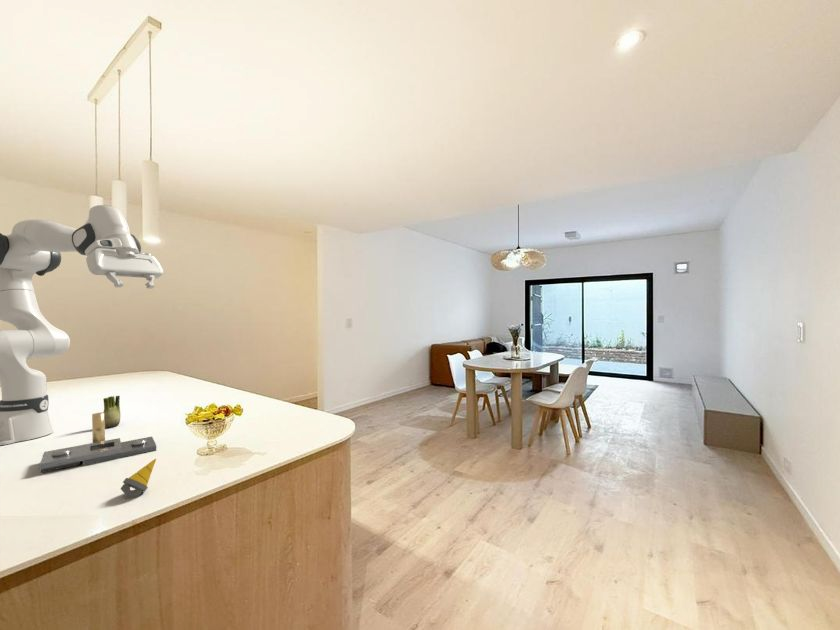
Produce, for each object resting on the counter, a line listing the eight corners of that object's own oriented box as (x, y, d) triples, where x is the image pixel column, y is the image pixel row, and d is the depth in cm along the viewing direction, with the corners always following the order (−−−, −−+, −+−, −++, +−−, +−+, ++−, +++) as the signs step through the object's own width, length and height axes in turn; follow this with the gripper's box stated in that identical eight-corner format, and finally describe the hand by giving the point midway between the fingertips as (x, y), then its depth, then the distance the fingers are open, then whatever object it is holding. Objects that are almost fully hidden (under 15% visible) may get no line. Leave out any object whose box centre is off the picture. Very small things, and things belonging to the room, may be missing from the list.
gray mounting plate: (39, 474, 99) (39, 461, 99) (44, 461, 108) (44, 449, 108) (156, 450, 117) (156, 438, 117) (152, 440, 126) (151, 429, 126)
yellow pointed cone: (116, 497, 88) (148, 457, 94) (138, 505, 88) (167, 465, 95) (110, 492, 84) (143, 451, 90) (132, 500, 84) (164, 459, 91)
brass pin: (90, 444, 122) (89, 415, 122) (96, 441, 126) (96, 412, 126) (101, 443, 123) (100, 414, 123) (107, 440, 126) (106, 412, 126)
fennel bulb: (119, 423, 146) (119, 394, 146) (122, 426, 143) (122, 395, 143) (100, 427, 142) (100, 396, 142) (103, 429, 139) (103, 398, 139)
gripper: (148, 258, 128) (162, 292, 127) (77, 250, 109) (93, 291, 107) (159, 249, 126) (173, 283, 125) (89, 239, 107) (105, 280, 105)
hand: (135, 287), depth 116 cm, fingers open, 8 cm apart
